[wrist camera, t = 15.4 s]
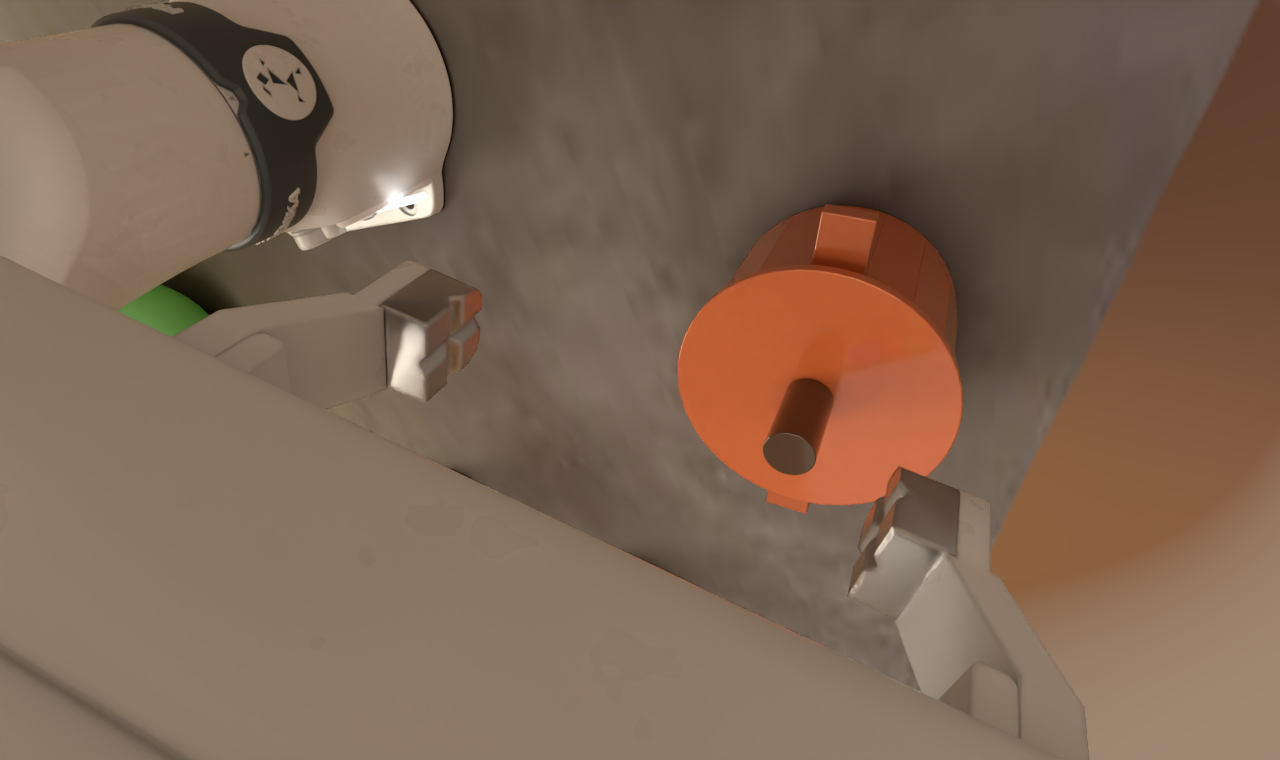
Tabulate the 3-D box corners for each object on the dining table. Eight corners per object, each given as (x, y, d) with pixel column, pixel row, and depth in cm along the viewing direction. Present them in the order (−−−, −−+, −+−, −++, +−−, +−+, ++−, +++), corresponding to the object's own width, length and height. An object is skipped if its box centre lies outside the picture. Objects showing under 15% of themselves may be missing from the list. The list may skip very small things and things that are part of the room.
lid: (676, 450, 42) (640, 515, 38) (695, 232, 34) (650, 285, 30) (920, 521, 39) (909, 603, 34) (1006, 294, 30) (1006, 365, 26)
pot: (723, 400, 50) (679, 484, 43) (756, 139, 39) (705, 195, 33) (912, 450, 46) (896, 551, 39) (1004, 177, 36) (1005, 251, 29)
